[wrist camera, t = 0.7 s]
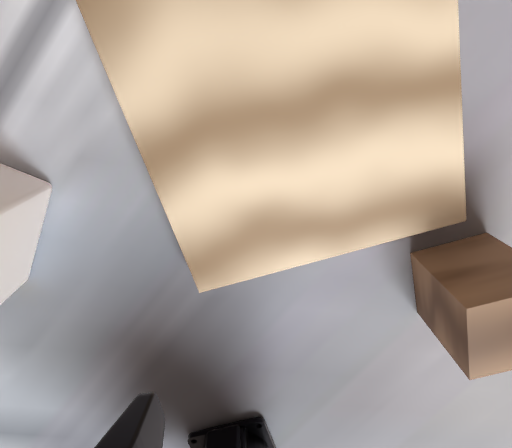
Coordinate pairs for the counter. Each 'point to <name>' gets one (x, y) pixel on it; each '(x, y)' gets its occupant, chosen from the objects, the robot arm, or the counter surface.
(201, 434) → the robot arm
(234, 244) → the birch base
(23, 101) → the counter surface
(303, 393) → the counter surface
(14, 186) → the medicine bottle
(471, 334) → the walnut block
